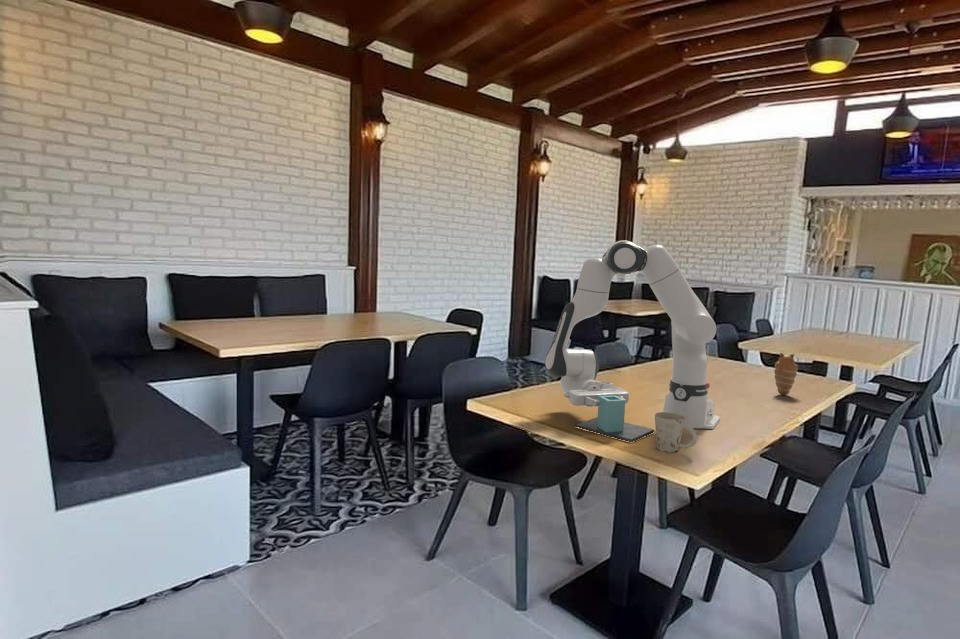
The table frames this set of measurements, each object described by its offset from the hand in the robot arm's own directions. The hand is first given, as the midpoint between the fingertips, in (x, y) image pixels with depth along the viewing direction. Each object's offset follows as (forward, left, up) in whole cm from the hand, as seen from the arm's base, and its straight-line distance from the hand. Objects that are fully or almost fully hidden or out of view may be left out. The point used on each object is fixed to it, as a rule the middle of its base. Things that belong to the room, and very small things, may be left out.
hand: (610, 403), depth 185 cm
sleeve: (0, 0, -8) cm, 8 cm away
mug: (+1, +22, -10) cm, 24 cm away
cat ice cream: (-104, +23, -10) cm, 107 cm away
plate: (-3, 0, -9) cm, 10 cm away
